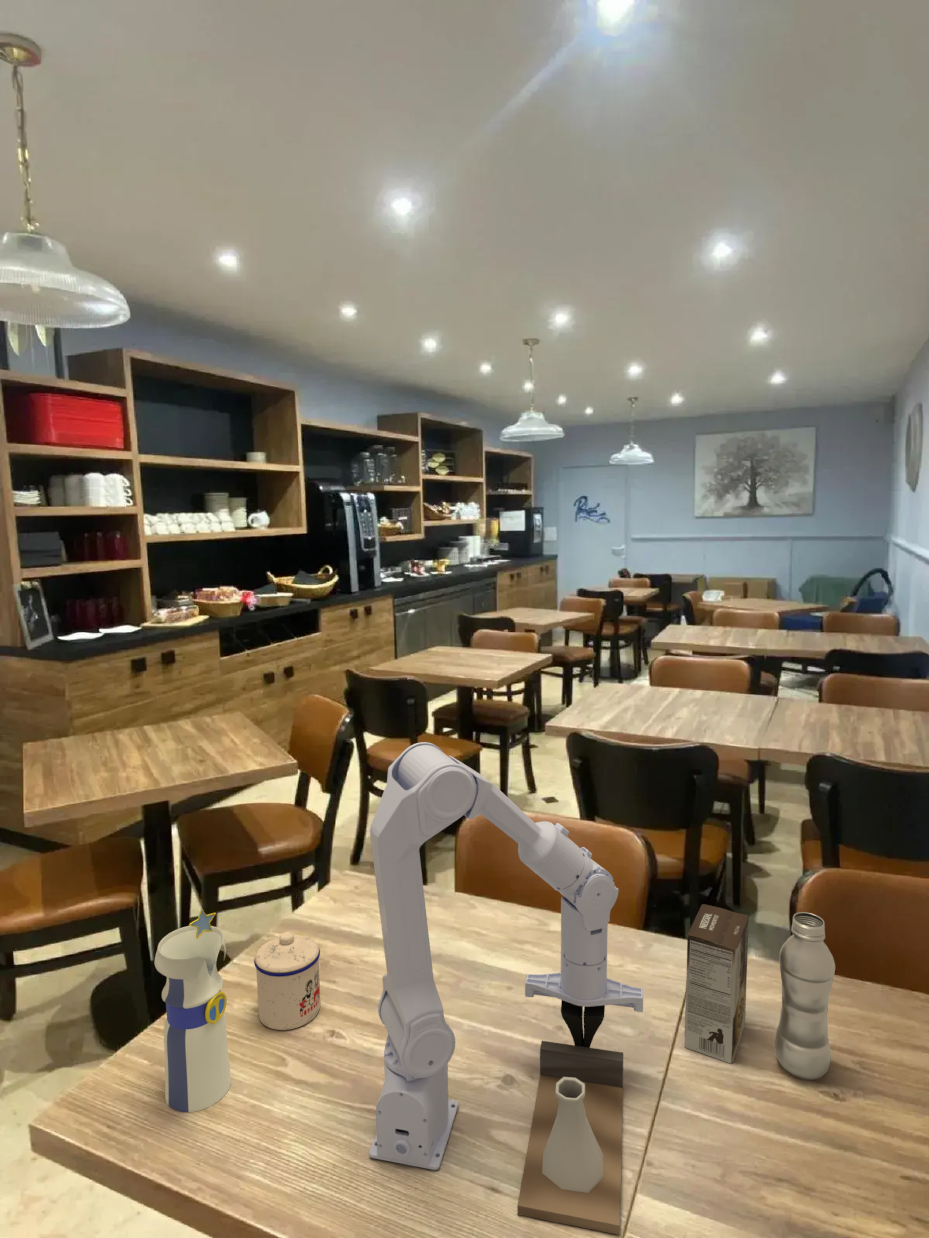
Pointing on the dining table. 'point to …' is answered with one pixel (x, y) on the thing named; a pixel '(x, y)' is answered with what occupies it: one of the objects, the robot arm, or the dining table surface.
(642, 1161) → the dining table surface
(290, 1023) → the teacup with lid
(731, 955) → the coffee box
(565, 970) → the robot arm
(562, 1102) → the flask
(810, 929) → the plastic bottle
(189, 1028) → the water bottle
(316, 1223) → the dining table surface
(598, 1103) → the sliding board
